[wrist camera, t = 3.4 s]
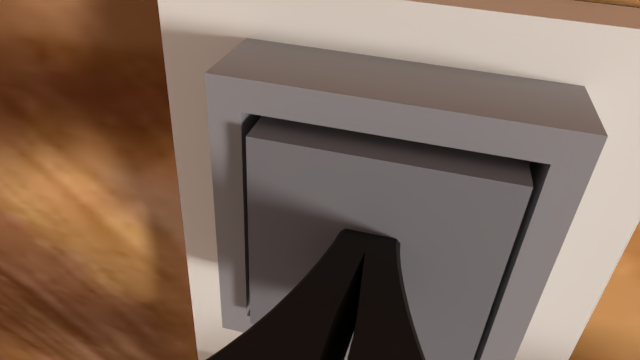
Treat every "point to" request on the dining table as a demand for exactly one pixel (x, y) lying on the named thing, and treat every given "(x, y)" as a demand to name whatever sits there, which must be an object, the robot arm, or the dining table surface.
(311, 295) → the robot arm
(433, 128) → the button panel
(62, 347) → the dining table surface
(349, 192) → the charcoal key
